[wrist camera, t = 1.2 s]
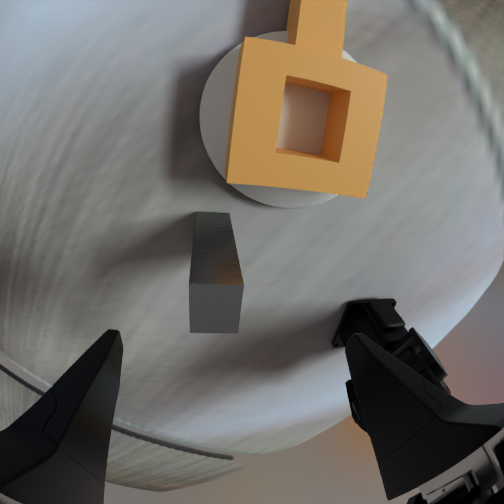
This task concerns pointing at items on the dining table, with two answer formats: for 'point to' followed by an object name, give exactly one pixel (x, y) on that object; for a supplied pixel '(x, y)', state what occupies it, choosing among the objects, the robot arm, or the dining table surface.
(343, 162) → the bracket
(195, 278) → the dark grey post
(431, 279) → the dining table surface
